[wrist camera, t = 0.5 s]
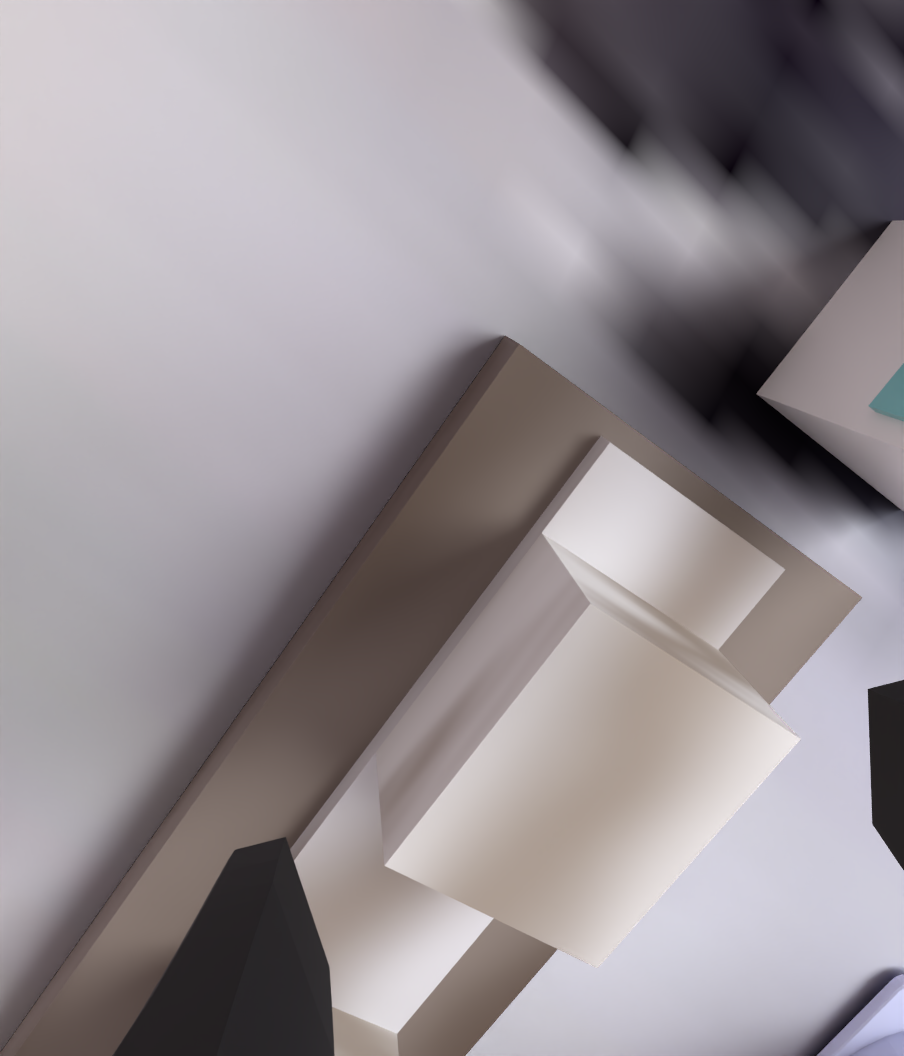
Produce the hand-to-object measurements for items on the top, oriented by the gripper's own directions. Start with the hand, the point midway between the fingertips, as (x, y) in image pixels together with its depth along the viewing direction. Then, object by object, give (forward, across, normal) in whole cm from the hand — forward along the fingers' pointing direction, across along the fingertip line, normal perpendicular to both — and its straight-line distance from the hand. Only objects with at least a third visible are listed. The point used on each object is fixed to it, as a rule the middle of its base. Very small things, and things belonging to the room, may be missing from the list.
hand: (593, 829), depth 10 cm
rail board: (+10, +4, +7) cm, 13 cm away
